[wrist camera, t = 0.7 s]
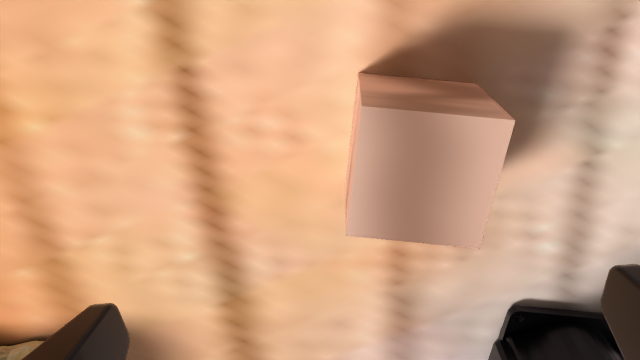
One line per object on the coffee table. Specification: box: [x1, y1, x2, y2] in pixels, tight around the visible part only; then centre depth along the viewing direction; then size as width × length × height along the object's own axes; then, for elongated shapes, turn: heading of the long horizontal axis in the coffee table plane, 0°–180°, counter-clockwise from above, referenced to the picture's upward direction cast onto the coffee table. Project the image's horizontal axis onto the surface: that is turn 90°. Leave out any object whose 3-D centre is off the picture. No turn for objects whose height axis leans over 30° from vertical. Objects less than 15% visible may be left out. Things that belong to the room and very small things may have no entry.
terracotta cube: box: [346, 73, 516, 249], centre depth 18 cm, size 5×5×5 cm
